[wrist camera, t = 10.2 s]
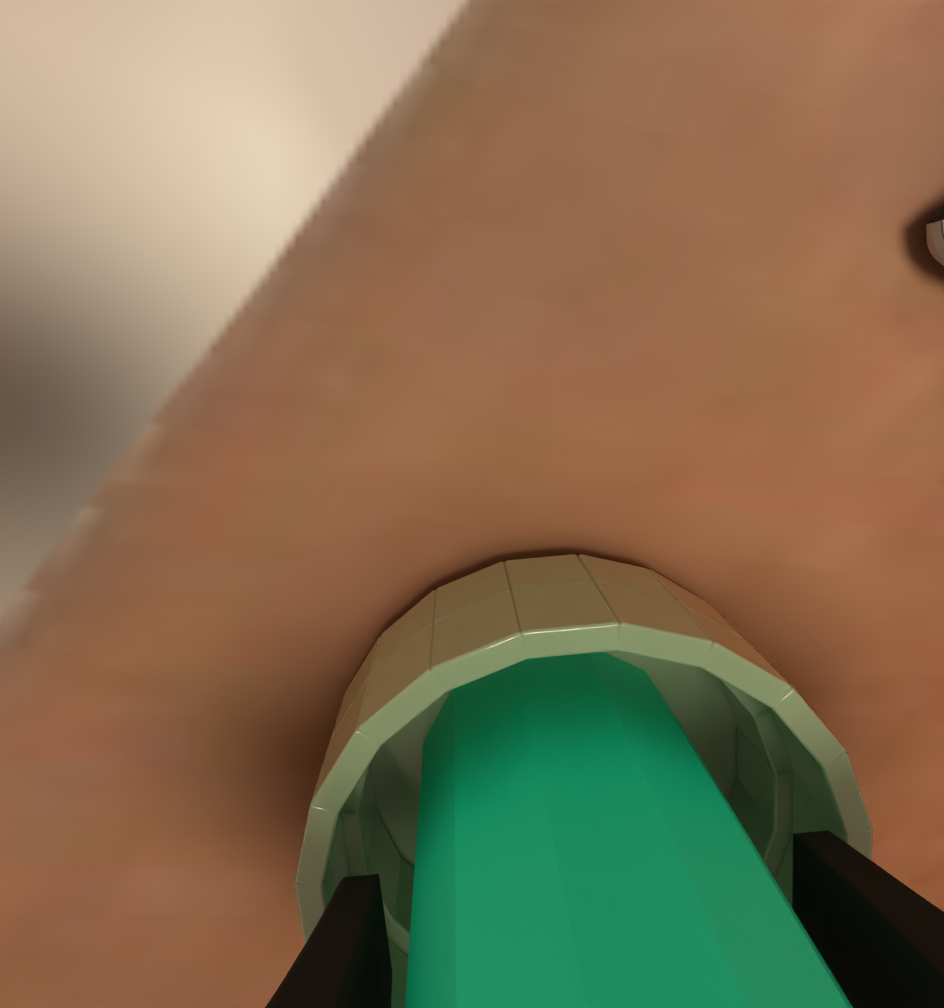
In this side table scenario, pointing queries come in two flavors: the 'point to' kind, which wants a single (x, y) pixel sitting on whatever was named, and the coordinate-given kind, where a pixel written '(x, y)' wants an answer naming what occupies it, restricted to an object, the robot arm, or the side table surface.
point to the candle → (590, 858)
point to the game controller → (936, 236)
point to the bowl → (555, 632)
